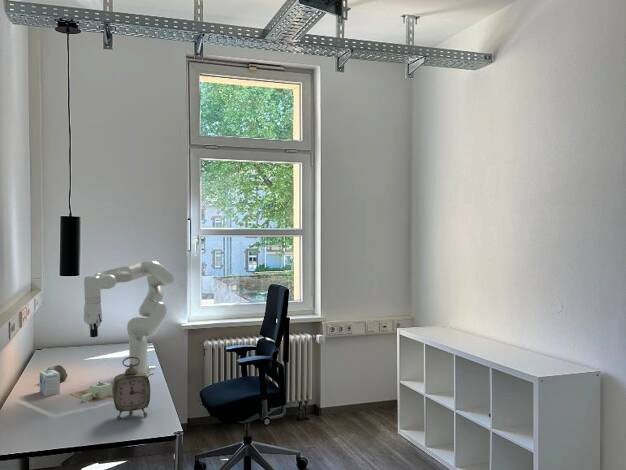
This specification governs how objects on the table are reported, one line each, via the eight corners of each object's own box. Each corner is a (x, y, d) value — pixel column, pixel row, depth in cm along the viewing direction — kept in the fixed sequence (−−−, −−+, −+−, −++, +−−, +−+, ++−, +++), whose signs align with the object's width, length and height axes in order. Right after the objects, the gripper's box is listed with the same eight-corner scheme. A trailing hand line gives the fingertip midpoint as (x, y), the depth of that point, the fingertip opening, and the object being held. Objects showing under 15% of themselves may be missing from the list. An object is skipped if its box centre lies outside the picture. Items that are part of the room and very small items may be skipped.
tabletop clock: (113, 421, 230) (113, 360, 230) (112, 415, 238) (112, 356, 238) (150, 417, 235) (150, 357, 236) (147, 411, 244) (147, 353, 244)
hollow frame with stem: (100, 392, 269) (100, 382, 269) (112, 394, 266) (112, 383, 266) (77, 400, 256) (77, 389, 256) (89, 402, 253) (89, 391, 253)
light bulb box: (39, 393, 272) (39, 371, 272) (54, 391, 277) (53, 369, 277) (45, 398, 264) (45, 375, 264) (60, 395, 268) (60, 373, 269)
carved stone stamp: (56, 383, 289) (48, 366, 290) (44, 390, 292) (36, 373, 293) (71, 377, 299) (64, 360, 301) (59, 384, 302) (51, 368, 303)
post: (101, 394, 266) (101, 381, 266) (103, 395, 265) (103, 382, 265) (97, 395, 265) (97, 382, 265) (99, 395, 263) (99, 383, 263)
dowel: (94, 398, 259) (94, 393, 259) (96, 399, 258) (96, 393, 258) (92, 399, 258) (92, 393, 258) (93, 399, 257) (93, 394, 257)
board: (110, 387, 284) (110, 384, 284) (134, 394, 269) (134, 392, 269) (67, 396, 267) (67, 394, 267) (91, 405, 253) (91, 402, 253)
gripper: (78, 300, 284) (79, 336, 285) (93, 302, 275) (95, 339, 275) (91, 298, 290) (93, 334, 291) (107, 300, 281) (109, 337, 281)
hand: (94, 336), depth 283 cm, fingers closed
